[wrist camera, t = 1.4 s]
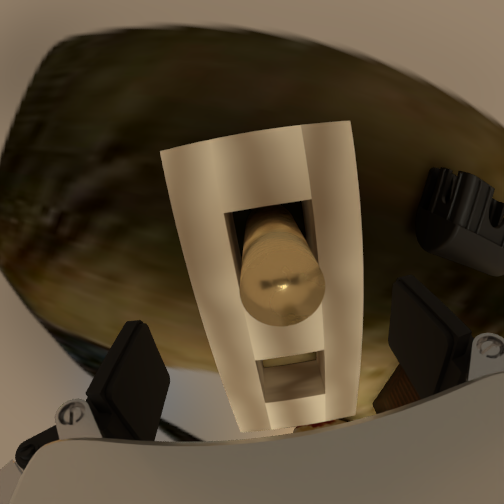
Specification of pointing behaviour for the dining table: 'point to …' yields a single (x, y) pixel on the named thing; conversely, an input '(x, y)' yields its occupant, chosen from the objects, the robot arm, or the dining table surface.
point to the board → (229, 266)
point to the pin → (278, 269)
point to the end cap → (462, 221)
